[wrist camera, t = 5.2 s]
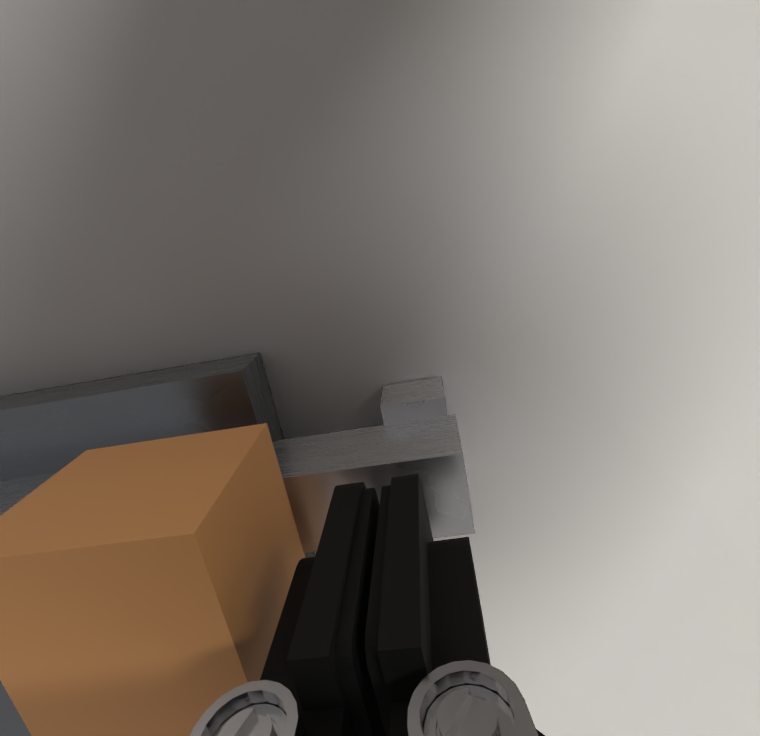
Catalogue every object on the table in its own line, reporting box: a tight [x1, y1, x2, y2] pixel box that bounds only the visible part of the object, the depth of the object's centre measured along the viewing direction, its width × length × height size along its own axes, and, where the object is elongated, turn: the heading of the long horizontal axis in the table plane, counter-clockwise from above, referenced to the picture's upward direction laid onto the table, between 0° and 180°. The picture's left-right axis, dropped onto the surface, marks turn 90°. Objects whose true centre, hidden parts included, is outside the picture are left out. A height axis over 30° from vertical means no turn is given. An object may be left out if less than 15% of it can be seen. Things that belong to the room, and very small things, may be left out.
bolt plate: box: [0, 353, 475, 736], centre depth 14 cm, size 27×16×7 cm, turn 101°
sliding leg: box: [0, 423, 305, 736], centre depth 11 cm, size 4×11×5 cm, turn 11°
